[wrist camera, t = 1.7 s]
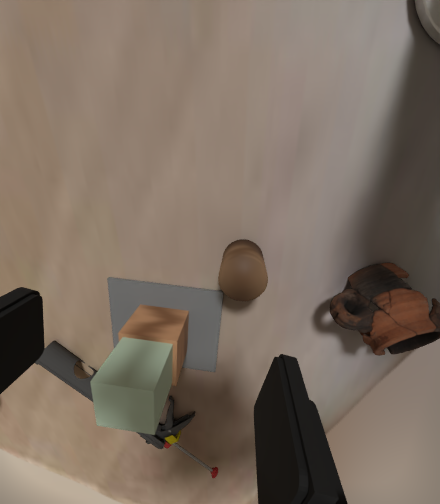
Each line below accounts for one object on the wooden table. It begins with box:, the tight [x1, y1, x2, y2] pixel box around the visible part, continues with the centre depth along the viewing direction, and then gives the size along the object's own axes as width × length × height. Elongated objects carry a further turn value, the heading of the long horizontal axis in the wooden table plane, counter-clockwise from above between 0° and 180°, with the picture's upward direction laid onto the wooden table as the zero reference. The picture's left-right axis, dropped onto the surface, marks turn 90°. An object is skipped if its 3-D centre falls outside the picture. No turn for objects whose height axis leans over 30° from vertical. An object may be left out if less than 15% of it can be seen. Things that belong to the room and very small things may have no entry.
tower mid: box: [90, 337, 173, 435], centre depth 25 cm, size 6×6×6 cm
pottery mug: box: [330, 263, 440, 355], centre depth 27 cm, size 12×10×8 cm
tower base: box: [118, 304, 189, 386], centre depth 30 cm, size 7×7×6 cm
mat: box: [107, 277, 223, 372], centre depth 33 cm, size 16×14×1 cm
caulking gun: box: [35, 341, 218, 478], centre depth 38 cm, size 4×37×10 cm
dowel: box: [218, 240, 268, 301], centre depth 26 cm, size 5×5×6 cm
